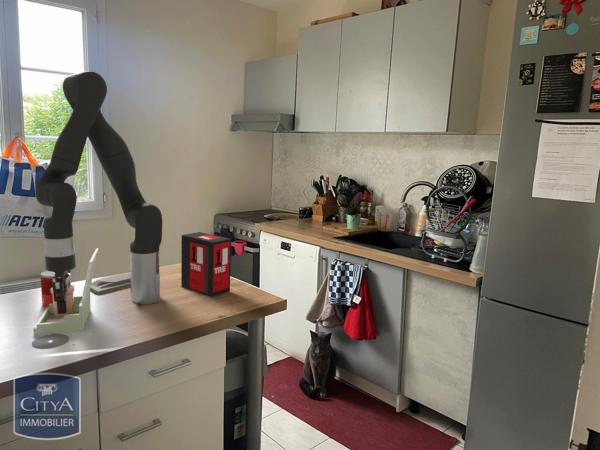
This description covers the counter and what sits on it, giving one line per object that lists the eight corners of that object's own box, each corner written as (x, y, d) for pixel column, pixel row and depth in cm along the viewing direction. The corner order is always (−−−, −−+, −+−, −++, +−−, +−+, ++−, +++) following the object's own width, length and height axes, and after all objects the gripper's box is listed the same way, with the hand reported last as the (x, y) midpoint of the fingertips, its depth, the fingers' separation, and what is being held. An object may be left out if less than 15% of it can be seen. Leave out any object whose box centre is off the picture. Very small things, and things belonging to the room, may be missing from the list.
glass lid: (88, 285, 135) (91, 285, 135) (80, 303, 120) (83, 303, 120) (96, 248, 133) (98, 248, 134) (89, 261, 119) (92, 262, 119)
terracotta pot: (77, 308, 130) (75, 278, 128) (74, 315, 124) (72, 284, 123) (54, 309, 128) (52, 279, 126) (50, 317, 123) (47, 286, 121)
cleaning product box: (181, 287, 164) (181, 235, 161) (199, 282, 171) (200, 232, 168) (212, 297, 155) (212, 242, 151) (229, 291, 162) (231, 238, 158)
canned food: (58, 311, 136) (56, 277, 134) (36, 308, 137) (34, 274, 135) (75, 303, 143) (74, 270, 141) (54, 300, 145) (52, 268, 143)
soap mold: (83, 289, 158) (82, 280, 157) (133, 278, 173) (133, 269, 173) (98, 296, 152) (98, 287, 151) (148, 284, 168) (148, 275, 167)
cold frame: (90, 312, 136) (89, 287, 135) (83, 333, 121) (82, 305, 120) (47, 314, 132) (45, 289, 131) (33, 337, 118) (32, 308, 116)
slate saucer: (71, 335, 120) (71, 332, 120) (65, 348, 112) (65, 346, 112) (36, 338, 117) (36, 335, 117) (28, 352, 109) (28, 349, 109)
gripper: (70, 258, 118) (74, 317, 121) (78, 246, 131) (81, 299, 134) (39, 259, 115) (43, 320, 118) (50, 247, 128) (54, 302, 132)
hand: (64, 309), depth 126 cm, fingers closed on terracotta pot, 5 cm apart
